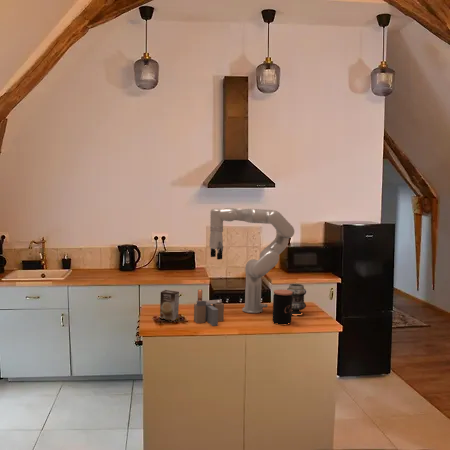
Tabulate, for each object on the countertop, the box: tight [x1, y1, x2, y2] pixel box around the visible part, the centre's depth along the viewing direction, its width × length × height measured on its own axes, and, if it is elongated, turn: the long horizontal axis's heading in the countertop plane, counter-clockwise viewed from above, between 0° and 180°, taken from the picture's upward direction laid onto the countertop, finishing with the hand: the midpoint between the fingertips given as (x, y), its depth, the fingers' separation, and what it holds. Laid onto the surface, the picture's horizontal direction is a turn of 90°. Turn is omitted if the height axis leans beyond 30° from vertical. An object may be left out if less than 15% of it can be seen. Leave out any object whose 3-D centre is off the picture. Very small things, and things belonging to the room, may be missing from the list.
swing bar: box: [197, 289, 223, 305], centre depth 287 cm, size 14×4×8 cm, turn 111°
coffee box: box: [159, 289, 180, 320], centre depth 287 cm, size 9×6×16 cm
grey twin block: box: [193, 300, 225, 327], centre depth 287 cm, size 16×20×12 cm
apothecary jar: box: [286, 283, 307, 314], centre depth 307 cm, size 12×12×18 cm
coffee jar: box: [271, 289, 293, 324], centre depth 288 cm, size 11×11×18 cm
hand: (216, 258), depth 305 cm, fingers open, 9 cm apart
